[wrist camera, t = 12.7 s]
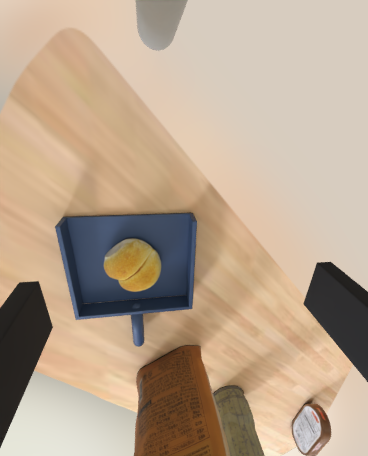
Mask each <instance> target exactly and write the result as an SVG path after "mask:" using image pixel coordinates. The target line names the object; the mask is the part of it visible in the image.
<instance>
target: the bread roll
mask: <svg viewBox="0 0 368 456" xmlns="http://www.w3.org/2000/svg"><path fill="white" fill-rule="evenodd" d="M104 269H105V272H106V273H107V275H108V276H109V277H111V278H114V279H117V280H119V284H120V285H121V287H122V288H124V289H126V290H128V291H133V292H137V291H142V290H145V289H148V288H150V287H151V286H152V285H154V284H155V283H156V281H157V280H158V278H159V275H160V272H161V260H160V257H159V255H158V253H157V251H156V250H154V249H153V248H152V247H151V246H150V245H149V244H148V243H146V242H144V241H142V240H139V239H125V240H123V241H122V242H120V243H118V244H117V245H115V246H114V247H113V248H112V249H110V250H109V251H108V252H107V254H106V255H105V261H104Z"/></svg>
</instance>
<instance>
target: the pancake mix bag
mask: <svg viewBox="0 0 368 456" xmlns="http://www.w3.org/2000/svg"><path fill="white" fill-rule="evenodd" d="M136 383H137V389H138V395H139V401H138V415H137V420H136V428H135V453H134V456H230V452H229V447H228V443H227V438H226V435H225V432H224V429H223V427H222V422H221V417H220V414H219V411H218V408H217V405H216V402H215V399H214V396H213V393H212V390H211V386H210V383H209V379H208V376H207V373H206V370H205V367H204V364H203V362H202V359H201V347H200V346H191V345H186V346H182V347H179V348H177V349H175V350H174V351H172V352H170V353H168V354H167V355H165V356H163V357H161V358H160V359H158V360H156V361H154V362H153V363H151V364H149V365H147V366H145V367H143V368H141V369H140V370H139V372H138V375H137V381H136Z"/></svg>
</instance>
